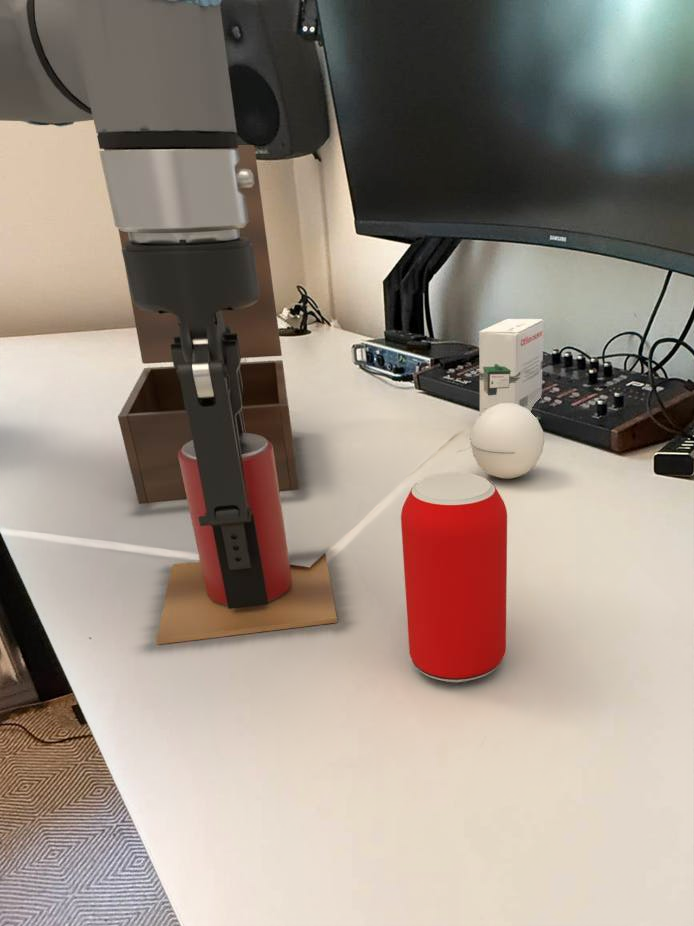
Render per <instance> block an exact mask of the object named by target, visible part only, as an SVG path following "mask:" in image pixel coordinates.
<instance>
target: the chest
mask: <svg viewBox="0 0 694 926" xmlns="http://www.w3.org/2000/svg"><path fill="white" fill-rule="evenodd" d="M284 369H285V368H284V362H283V360H282V359H279V360H278V359H277V360H261V361H246V362H241V363H240V372H241V378H242V384H243V396H242V397H241V399H242V412H243V418H244V424H245V430H246V433H250V434H256V435H259V436H262V437H264V438H265V439H266V440H268V441H270V442H271V443H272V445H273V452H274V459H275V466H276V472H277V479H278V486H279V492H287V491H298V490H300V485H299V476H298V468H297V460H296V453H295V446H294V437H293V431H292V430H293V429H292V421H291V416H290V415H291V413H290V407H289V400H288V392H287V384H286V378H285V370H284ZM117 420H118V423H119V429H120V432H121V436H122V440H123V445H124V447H125V448H124V449H125V452H126V456H127V461H128V464H129V465H128V466H129V470H130V474H131V477H132V481H133V487H134V489H135V494H136V498H137V502H138V504H139V505H142V504H152V503H163V502H175V501H186V500H187V496H186V491H185V486H184V482H183V477H182V472H181V467H180V462H179V457H178V452H179V451H180V450H181V449H182V447H183V446H184V445H185V444H186V443H188V442H190V441H192V440H193V438H192V433H191V428H190V422H189V417H188V413H187V412H186V410H185V406H184V400H183V394H182V388H181V382H180V379H178V376H177V370H176V369H175V368H174V365H172V366H156V367H144V368H143V370H142V371H141V373H140V374H139V377H138V379H137V380H136V382H135V384H134V386H133V388H132V390H131V392H130V393H129V395H128V397H127V399H126V401H125V403H124V405H123V407H122V408H121V410H120V412H119V414H118V416H117Z"/></svg>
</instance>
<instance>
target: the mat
mask: <svg viewBox="0 0 694 926" xmlns="http://www.w3.org/2000/svg"><path fill="white" fill-rule="evenodd" d="M290 570H291V577H292V584H291V586H290V588H289V589H288V590H287V591H286V592H285V593H284V594H283V595H282V596H280V597H279V598H277V599H275V600H273V601H270V602H268V604H266V605H258V606H249V607H241V608H232V609H228V606H227V605H223V604H220V603H218V602H216V601H214V600H212V599H211V598H210V597H209V596H208V595H207V592H206V587H205V583H204V578H203V573H202V568H201V563H200V561H192V562H181V563H173V564H171V569H170V574H169V579H168V583H167V587H166V594H165V598H164V603H163V607H162V612H161V616H160V622H159V627H158V632H157V635H156V643H157V645H165V644H173V643H181V642H189V641H197V640H205V639H213V638H214V639H215V638H221V637H222V638H223V637H229V636H238V635H239V636H240V635H245V634H246V635H247V634H255V633H262V632H272V631H279V630H288V629H295V628H302V627H312V626H313V627H314V626H321V625H328V624H337V623H338V617H337V611H336V605H335V599H334V593H333V587H332V582H331V577H330V571H329V565H328V560H327V553H326V552H324V553H323V554H322V555H321V556H320V557H319V558H317V560H316V561H314V563H312V564H311V565H310V566H303V565H296V564H290Z"/></svg>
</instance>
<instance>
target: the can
mask: <svg viewBox="0 0 694 926" xmlns="http://www.w3.org/2000/svg"><path fill="white" fill-rule="evenodd" d="M239 440H240V447H241V454H242V461H243V467H244V474H245V481H246V487H247V494H248V501H249V507H250V508H252V514H254V520H255V526H256V532H257V538H258V544H259V550H260V556H261V562H262V568H263V574H264V580H265V586H266V592H267V598H268V602H270V601H273V600H275V599H277V598H279V597H280V596H282V595H283V594H284V593H285V592H286V591H287V590H288V589H289V588H290V586H291V584H292V577H291V570H290V565H291V563H290V556H289V550H288V542H287V536H286V535H287V534H286V530H285V523H284V514H283V509H282V507H283V506H282V502H281V495H280V491H279V486H278V479H277V472H276V466H275V459H274V452H273V445H272V443H271V442H270V441H268V440H266V439H265V438H264V437H262V436H259V435H256V434H250V433H239ZM178 457H179V462H180V467H181V472H182V477H183V482H184V486H185V491H186V496H187V505H188V510H189V515H190V520H191V524H192V531H193V534H194V539H195V544H196V549H197V554H198V559H199V562H200V563H201V568H202V573H203V578H204V583H205V587H206V592H207V595H208V596H209V597H210V598H211V599H212V600H214V601H216V602H218V603H220V604H223V605H227V606H228V604H227V599H226V594H225V589H224V584H223V579H222V574H221V569H220V564H219V559H218V553H217V548H216V543H215V538H214V533H213V528H212V526H210V525H207V526H200V523H199V518H198V517H200V516H205V513H206V507H205V502H204V496H203V491H202V486H201V480H200V475H199V470H198V465H197V459H196V454H195V449H194V444H193V440H192V441H190V442H188V443H186V444H185V445H184V446H183V447H182V449H181V450H180V451H179V452H178Z"/></svg>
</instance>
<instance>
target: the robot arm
mask: <svg viewBox="0 0 694 926" xmlns="http://www.w3.org/2000/svg"><path fill="white" fill-rule="evenodd" d="M221 3H222V0H0V121H2V122H4V121H5V122H22V123H27V124H29V125H33V126H51V125H52V126H56V127H66V126H71V125H74V124H75V123H79V122H89V121H93V123H94V128H95V132H96V134H97V135H96V137H97V143H98V147H99V149H100V150H99V152H98V153H99V157H100V161H101V166H102V171H103V175H104V180H105V181H104V182H105V185H106V190H107V195H108V198H109V203H110V209H111V213H112V217H113V223H114V227H116V228H117V229H118V230H119V229H120V230H121V231H124V232H128V236H129V241H128V242H125V243H124V246H125V247H124V248H122V247H121V254H122V258H123V262H124V268H125V273H126V272H127V274H126V278H127V277H128V280H127V282H128V281H129V285H128V287H129V286H130V291H131V295H132V300H133V302H134V304H135V305H136V306H137V307H138V308H139V309H141V310H143V311H146V312H151V313H159V314H162V313H172V314H174V315H176V316H177V317H178V323H179V332H180V336H174V342H175V344H171V353H172V359H173V362H172V364H173V365H172V366H174V368H175V369H176V370H177V376H178V379H180V382H181V388H182V394H183V400H184V406H185V410H186V412H187V413H188V417H189V422H190V428H191V433H192V438H193V444H194V449H195V454H196V459H197V465H198V470H199V475H200V480H201V486H202V491H203V496H204V502H205V507H206V513H205V516H200V517H198V518H199V523H200V526H207V525H210V526H212V528H213V533H214V538H215V543H216V548H217V553H218V559H219V564H220V569H221V574H222V579H223V584H224V589H225V594H226V599H227V604H228V609H232V608H241V607H249V606H258V605H266V604H268V598H267V592H266V586H265V580H264V574H263V568H262V562H261V556H260V550H259V544H258V538H257V532H256V526H255V520H254V514H252V508H250V507H249V501H248V494H247V487H246V481H245V474H244V467H243V461H242V454H241V447H240V440H239V433H246V430H245V424H244V418H243V412H242V399H241V397H242V396H243V384H242V378H241V372H240V361H241V353H240V345H239V339H238V334H237V333H231V330H230V329H229V326H228V324H226V325H224V320H223V315H222V310H236V309H241V308H245V307H248V306H251V305H253V304H255V303H256V302H257V301H258V299H259V296H260V291H259V284H258V276H257V269H256V262H255V255H254V248H253V244H252V243H249V239H248V238H246V237H240V232H239V228H244V227H245V226H246V225H247V223H248V222H249V220H248V213H247V206H246V198H245V196H244V195H243V194H242V192H241V191H240V190H239V188H250V187H253V185H254V184H255V181H254V176H253V174H252V172H251V170H249V169H237V168H235V166H236V165H237V163H238V162H239V160H240V158H239V153H238V150H228V149H227V148H238V145H239V143H238V136H237V134H238V132H237V123H236V117H235V108H234V102H233V101H234V100H233V93H232V87H231V79H230V71H229V63H228V57H227V55H228V54H227V48H226V40H225V34H224V33H225V32H224V26H223V17H222V16H223V15H222V10H221ZM104 149H171V150H108V151H104ZM130 291H129V292H130Z"/></svg>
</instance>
